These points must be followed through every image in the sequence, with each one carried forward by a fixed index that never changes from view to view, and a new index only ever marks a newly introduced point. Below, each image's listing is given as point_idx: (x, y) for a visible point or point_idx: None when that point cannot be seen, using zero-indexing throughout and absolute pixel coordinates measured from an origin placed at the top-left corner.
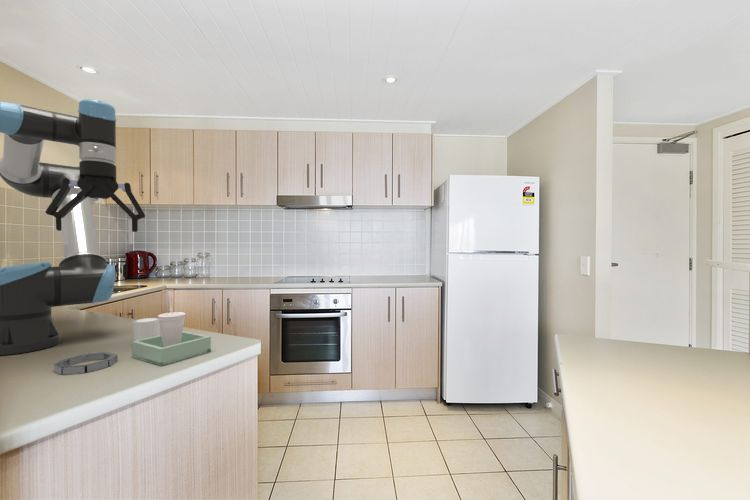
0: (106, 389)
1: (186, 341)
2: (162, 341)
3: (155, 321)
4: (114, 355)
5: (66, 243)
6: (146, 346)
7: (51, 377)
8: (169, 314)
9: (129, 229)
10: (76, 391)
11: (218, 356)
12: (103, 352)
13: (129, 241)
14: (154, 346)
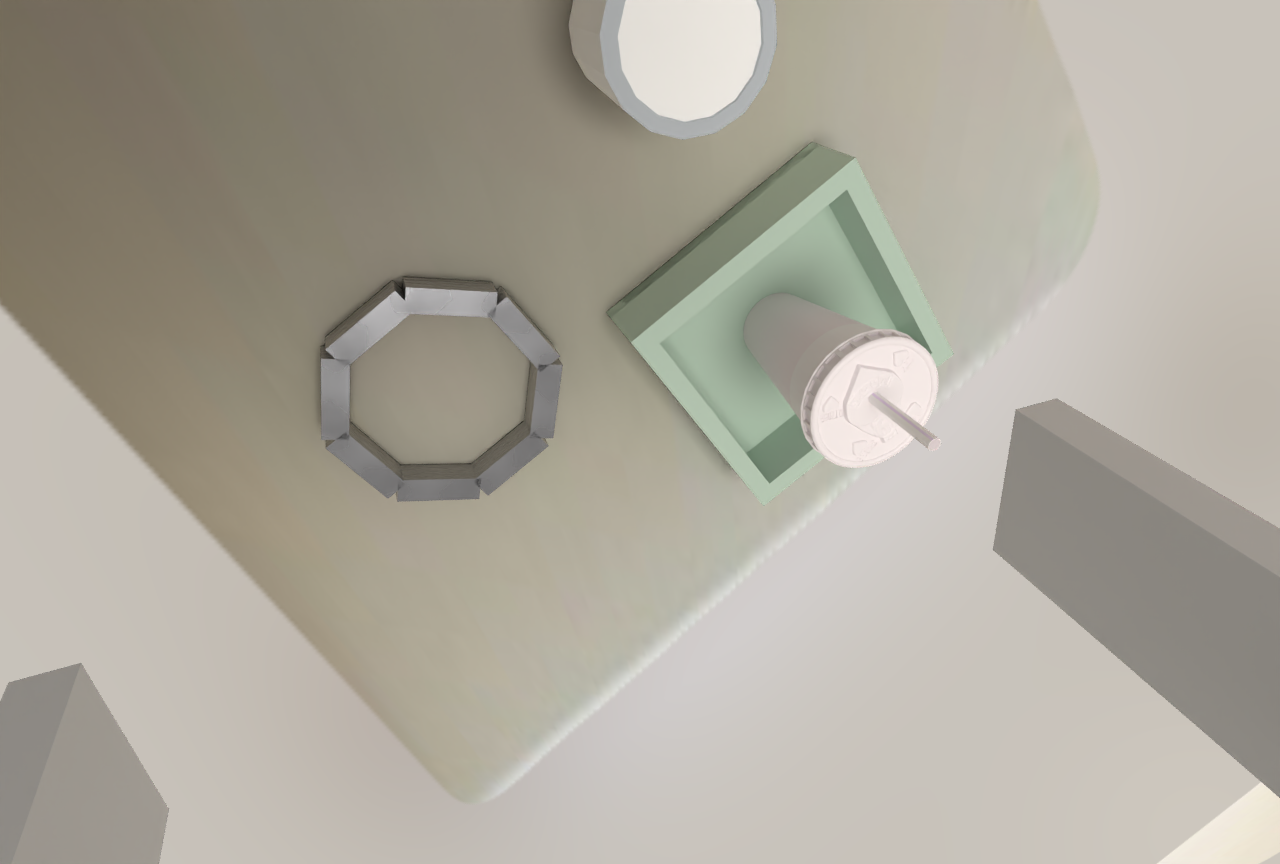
0: (604, 638)
1: (845, 224)
2: (763, 366)
3: (747, 105)
4: (551, 370)
5: (140, 776)
6: (704, 432)
7: (361, 503)
8: (866, 425)
9: (1209, 720)
10: (522, 640)
11: None
12: (480, 298)
13: (1031, 574)
14: (738, 458)
